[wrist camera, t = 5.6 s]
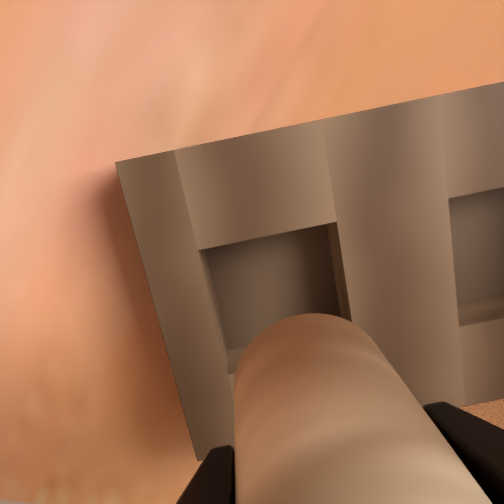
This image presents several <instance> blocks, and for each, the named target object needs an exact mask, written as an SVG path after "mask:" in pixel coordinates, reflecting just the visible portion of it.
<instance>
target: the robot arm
mask: <svg viewBox="0 0 504 504" xmlns="http://www.w3.org/2000/svg"><path fill="white" fill-rule="evenodd" d="M422 408H423V409H424V411H425V412H426V413H427V415H428V416H429V417H430V419H431V420H432V422H433V423H434V424H435V426H436V427H437V428H438V430H439V431H440V432H441V434H442V435H443V437H444V438H445V439H446V441H447V442H448V443H449V445H450V446H451V448H452V449H453V450H454V452H455V453H456V454H457V456H458V457H459V458H460V460H461V461H462V463H463V464H464V465H465V467H466V468H467V469H468V471H469V472H470V474H471V475H472V476H473V478H474V479H475V480H476V482H477V483H478V484H479V486H480V487H481V489H482V490H483V491H484V493H485V494H486V495H487V497H488V498H489V500H490V501H491V502H492V504H504V430H503V429H501V428H499V427H497V426H495V425H493V424H491V423H489V422H487V421H485V420H483V419H480V418H478V417H476V416H474V415H472V414H470V413H468V412H466V411H464V410H462V409H460V408H457V407H455V406H453V405H451V404H449V403H447V402H444V401H440V402H435V403H431V404H426V405H424V406H423V407H422ZM176 504H235V451H234V448H233V447H232V445H225V446H220V447H215V448H212V449H211V450H210V451H209V452H208V454H207V455H206V457H205V459H204V460H203V462H202V463H201V465H200V467H199V468H198V470H197V471H196V473H195V474H194V476H193V478H192V479H191V481H190V482H189V484H188V485H187V487H186V489H185V490H184V492H183V493H182V495H181V496H180V498H179V500H178V501H177V503H176Z"/></svg>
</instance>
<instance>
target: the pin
mask: <svg viewBox="0 0 504 504" xmlns="http://www.w3.org/2000/svg"><path fill="white" fill-rule="evenodd" d="M234 443H235V504H492V502H491V501H490V500H489V498H488V497H487V495H486V494H485V493H484V491H483V490H482V489H481V487H480V486H479V484H478V483H477V482H476V480H475V479H474V478H473V476H472V475H471V474H470V472H469V471H468V469H467V468H466V467H465V465H464V464H463V463H462V461H461V460H460V458H459V457H458V456H457V454H456V453H455V452H454V450H453V449H452V448H451V446H450V445H449V443H448V442H447V441H446V439H445V438H444V437H443V435H442V434H441V432H440V431H439V430H438V428H437V427H436V426H435V424H434V423H433V422H432V420H431V419H430V417H429V416H428V415H427V413H426V412H425V411H424V409H423V408H422V406H421V405H420V404H419V402H418V401H417V400H416V398H415V397H414V396H413V394H412V393H411V391H410V390H409V389H408V387H407V386H406V385H405V383H404V382H403V380H402V379H401V378H400V376H399V375H398V374H397V372H396V371H395V370H394V368H393V367H392V365H391V364H390V363H389V361H388V360H387V359H386V357H385V356H384V354H383V353H382V352H381V350H380V349H379V348H378V346H377V345H376V344H375V342H374V341H373V340H372V338H371V337H370V336H369V335H368V334H367V333H366V332H365V331H364V330H362V329H361V328H360V327H358V326H357V325H355V324H354V323H352V322H350V321H348V320H346V319H343V318H340V317H337V316H333V315H329V314H320V313H308V314H301V315H296V316H292V317H288V318H285V319H283V320H280V321H278V322H276V323H274V324H273V325H271V326H269V327H267V328H266V329H265V330H263V331H262V332H261V333H260V334H258V335H257V336H256V337H255V338H254V339H253V340H252V342H251V343H250V344H249V345H248V346H247V348H246V349H245V351H244V353H243V354H242V356H241V358H240V361H239V363H238V366H237V369H236V373H235V380H234Z"/></svg>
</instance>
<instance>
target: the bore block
mask: <svg viewBox="0 0 504 504" xmlns="http://www.w3.org/2000/svg"><path fill="white" fill-rule="evenodd" d="M115 165H116V168H117V172H118V176H119V179H120V183H121V187H122V190H123V194H124V197H125V201H126V205H127V208H128V212H129V216H130V219H131V223H132V226H133V230H134V234H135V237H136V241H137V244H138V248H139V252H140V255H141V259H142V263H143V266H144V270H145V273H146V277H147V281H148V284H149V288H150V291H151V295H152V299H153V302H154V306H155V310H156V313H157V317H158V320H159V324H160V328H161V331H162V335H163V339H164V342H165V346H166V349H167V353H168V357H169V360H170V364H171V367H172V371H173V375H174V378H175V382H176V386H177V389H178V393H179V396H180V400H181V404H182V407H183V411H184V414H185V418H186V422H187V425H188V429H189V433H190V436H191V440H192V443H193V447H194V451H195V454H196V458H197V461H201V460H204V459H205V457H206V455H207V454H208V452H209V451H210V450H211V449H212V448H215V447H220V446H225V445H232V447H233V448H234V451H235V443H234V380H235V373H236V369H237V366H238V363H239V361H240V358H241V356H242V354H243V353H244V351H245V349H246V348H247V346H248V345H249V344H250V343H251V342H252V340H253V339H254V338H255V337H256V336H257V335H258V334H260V333H261V332H262V331H263V330H265V329H266V328H267V327H269V326H271V325H273V324H274V323H276V322H278V321H280V320H283V319H285V318H288V317H292V316H296V315H301V314H308V313H320V314H329V315H333V316H337V317H340V318H343V319H346V320H348V321H350V322H352V323H354V324H355V325H357V326H358V327H360V328H361V329H362V330H364V331H365V332H366V333H367V334H368V335H369V336H370V337H371V338H372V340H373V341H374V342H375V344H376V345H377V346H378V348H379V349H380V350H381V352H382V353H383V354H384V356H385V357H386V359H387V360H388V361H389V363H390V364H391V365H392V367H393V368H394V370H395V371H396V372H397V374H398V375H399V376H400V378H401V379H402V380H403V382H404V383H405V385H406V386H407V387H408V389H409V390H410V391H411V393H412V394H413V396H414V397H415V398H416V400H417V401H418V402H419V404H420V405H421V406H422V407H423V406H424V405H426V404H431V403H435V402H440V401H444V402H447V403H449V404H451V405H453V406H455V407H457V408H459V407H464V406H469V405H473V404H478V403H483V402H488V401H493V400H498V399H502V398H504V82H500V83H495V84H490V85H485V86H481V87H476V88H471V89H466V90H461V91H456V92H452V93H447V94H442V95H437V96H432V97H427V98H423V99H418V100H413V101H408V102H403V103H399V104H394V105H389V106H384V107H379V108H374V109H370V110H365V111H360V112H355V113H350V114H346V115H341V116H336V117H331V118H326V119H321V120H317V121H312V122H307V123H302V124H297V125H292V126H288V127H283V128H278V129H273V130H268V131H264V132H259V133H254V134H249V135H244V136H239V137H235V138H230V139H225V140H220V141H215V142H210V143H206V144H201V145H196V146H191V147H186V148H182V149H177V150H172V151H167V152H162V153H157V154H153V155H148V156H143V157H138V158H133V159H128V160H124V161H119V162H115Z"/></svg>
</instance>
